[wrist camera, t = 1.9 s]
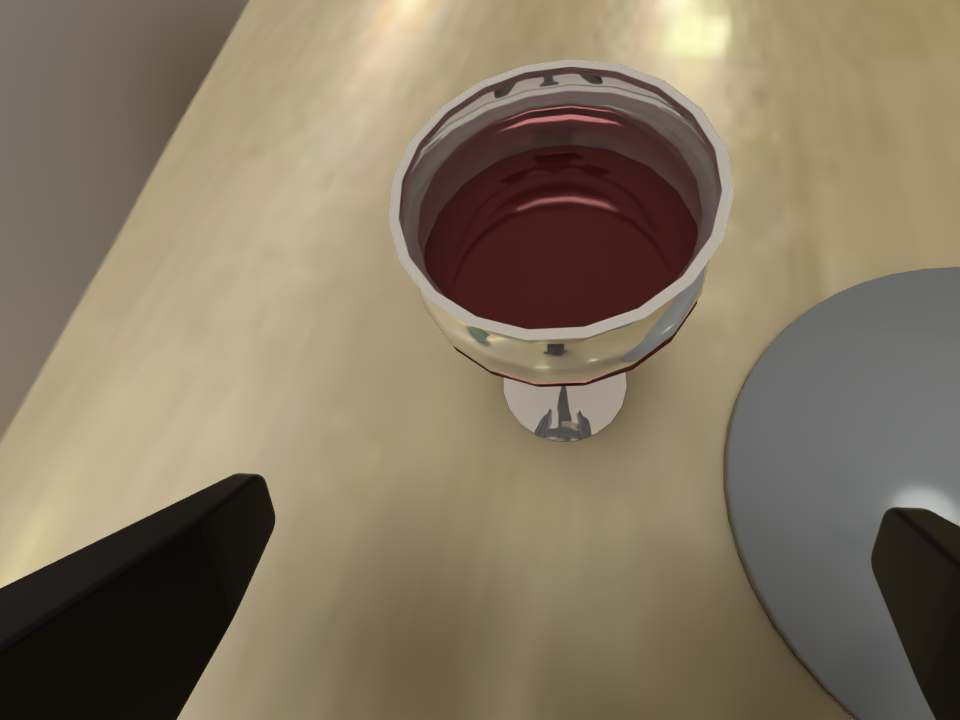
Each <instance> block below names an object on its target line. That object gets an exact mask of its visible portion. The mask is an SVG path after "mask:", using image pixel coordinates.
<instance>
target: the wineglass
mask: <svg viewBox="0 0 960 720" xmlns="http://www.w3.org/2000/svg"><path fill="white" fill-rule="evenodd" d="M734 192H735V191H734V185H733V180H732V175H731V169H730V164H729V158H728V153H727V147H726V145H725V144H724V142H723V140H722V139H721V137H720V136H719V134H718V133H717V131H716V130H715V128H714V127H713V125H712V124H711V122H710V121H709V119H708V117H707V116H706V114H705V113H704V111H703V110H702V108H700V107H699V106H698V105H696V104H695V103H694V102H692V101H691V100H690V99H688V98H687V97H686V96H684V95H683V94H682V93H681V92H679V91H678V90H677V89H675V88H674V87H673V86H671V85H670V84H669V83H667V82H666V81H664V80H662V79H659V78H656V77H654V76H651V75H648V74H645V73H643V72H640V71H637V70H635V69H632V68H629V67H626V66H624V65H621V64H613V63H603V62H593V61H583V60H573V59H571V60H563V61H556V62H548V63H541V64H533V65H525V66H522V67H519V68H516V69H514V70H511V71H508V72H506V73H503V74H500V75H497V76H495V77H492V78H489V79H487V80H484V81H481V82H479V83H477V84H476V85H474V86H473V87H471V88H470V89H468V90H467V91H465V92H464V93H462V94H461V95H459V96H458V97H456V98H455V99H453V100H452V101H450V102H449V103H447V104H446V105H444V106H443V107H441V108H440V109H439V110H438V111H437V112H436V114H435V115H434V116H433V117H432V118H431V119H430V120H429V121H428V122H427V124H426V125H425V126H424V127H423V128H422V129H421V130H420V131H419V132H418V134H417V135H416V136H415V137H414V138H413V139H412V140H411V142H410V144H409V146H408V148H407V151H406V153H405V155H404V157H403V159H402V161H401V163H400V165H399V167H398V170H397V172H396V174H395V176H394V178H393V184H392V193H391V203H390V212H389V224H390V228H391V231H392V235H393V239H394V242H395V246H396V249H397V253H398V257H399V260H400V263H401V264H402V265H403V267H404V268H405V269H406V271H407V272H408V273H409V275H410V276H411V277H412V279H413V280H414V281H415V283H416V284H417V285H418V289H419V292H420V296H421V299H422V303H423V306H424V309H425V311H426V312H427V313H428V315H429V316H430V317H431V319H432V320H433V321H434V323H435V324H436V326H437V327H438V328H439V330H440V331H441V332H442V334H443V335H444V336H445V338H446V339H447V340H448V342H449V343H450V344H452V345H453V347H454V348H455V349H456V350H457V351H458V352H460V353H461V354H463V355H464V356H466V357H467V358H469V359H470V360H472V361H473V362H475V363H476V364H478V365H479V366H481V367H482V368H484V369H485V370H487V371H488V372H490V373H491V374H494V375H497V376H500V377H504V394H505V397H506V400H507V403H508V406H509V409H510V410H511V412H512V413H513V414H514V416H515V417H516V418H517V420H518V421H519V422H520V424H521V425H523V426H524V427H526V428H527V429H529V430H530V431H532V432H533V433H534V434H536V435H538V436H542V437H545V438H548V439H551V440H555V441H576V440H579V439H582V438H585V437H588V436H591V435H594V434H596V433H597V432H599V431H600V430H601V429H603V428H604V427H605V426H607V425H608V424H609V423H611V422H612V420H613V419H614V417H615V416H616V414H617V413H618V411H619V410H620V408H621V407H622V404H623V400H624V397H625V393H626V389H627V386H626V373H625V372H627V371H630V370H632V369H634V368H635V367H637V366H638V365H639V364H641V363H642V362H643V361H645V360H646V359H648V358H649V357H650V356H652V355H653V354H654V353H656V352H657V351H658V350H660V349H661V348H663V347H664V346H665V345H667V344H668V343H669V342H671V341H672V339H673V338H674V336H675V335H676V333H677V332H678V331H679V329H680V328H681V326H682V325H683V323H684V322H685V320H686V319H687V317H688V316H689V315H690V313H691V312H692V310H693V309H694V307H695V306H696V304H697V300H698V298H699V297H700V296H701V294H702V290H703V286H704V282H705V278H706V273H707V269H708V265H709V261H710V258H711V256H712V255H713V253H714V252H715V250H716V249H717V248H718V246H719V245H720V243H721V242H722V240H723V239H724V235H725V230H726V226H727V222H728V217H729V213H730V209H731V204H732V200H733V196H734Z"/></svg>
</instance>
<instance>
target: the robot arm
mask: <svg viewBox="0 0 960 720" xmlns="http://www.w3.org/2000/svg"><path fill="white" fill-rule="evenodd" d="M274 525H275V512H274V508H273V505H272V501H271V498H270V495H269V491H268V488H267V484H266V481H265V479H264V478H263V477H262V476H261V475H258V474H246V473H238V474H234V475H232V476H230V477H228V478H225V479H223V480H221V481H219V482H217V483H215V484H213V485H211V486H209V487H207V488H205V489H203V490H201V491H199V492H197V493H195V494H193V495H191V496H189V497H187V498H185V499H183V500H180V501H178V502H176V503H174V504H172V505H170V506H168V507H166V508H164V509H162V510H160V511H158V512H156V513H154V514H152V515H150V516H148V517H146V518H144V519H142V520H140V521H138V522H135V523H133V524H131V525H129V526H127V527H125V528H123V529H121V530H119V531H117V532H115V533H113V534H111V535H109V536H107V537H105V538H103V539H101V540H99V541H97V542H95V543H93V544H90V545H88V546H86V547H84V548H82V549H80V550H78V551H76V552H74V553H72V554H70V555H68V556H66V557H64V558H62V559H60V560H58V561H56V562H54V563H52V564H50V565H48V566H45V567H43V568H41V569H39V570H37V571H35V572H33V573H31V574H29V575H27V576H25V577H23V578H21V579H19V580H17V581H15V582H13V583H11V584H9V585H7V586H5V587H3V588H0V720H177V718H178V716H179V714H180V713H181V711H182V709H183V707H184V705H185V704H186V702H187V700H188V698H189V697H190V695H191V693H192V691H193V689H194V688H195V686H196V684H197V682H198V681H199V679H200V677H201V675H202V674H203V672H204V670H205V668H206V666H207V665H208V663H209V661H210V659H211V658H212V656H213V654H214V652H215V650H216V649H217V647H218V645H219V643H220V642H221V640H222V638H223V636H224V634H225V633H226V631H227V629H228V627H229V625H230V623H231V621H232V620H233V618H234V616H235V613H236V611H237V609H238V607H239V605H240V603H241V601H242V599H243V596H244V594H245V592H246V590H247V588H248V585H249V583H250V581H251V579H252V576H253V574H254V572H255V570H256V567H257V565H258V563H259V561H260V558H261V556H262V554H263V552H264V549H265V547H266V545H267V543H268V541H269V538H270V536H271V534H272V532H273V529H274ZM871 566H872V571H873V574H874V577H875V579H876V581H877V584H878V586H879V589H880V591H881V594H882V596H883V599H884V601H885V604H886V606H887V609H888V611H889V614H890V616H891V619H892V621H893V624H894V626H895V629H896V631H897V634H898V636H899V639H900V641H901V644H902V646H903V649H904V651H905V654H906V656H907V658H908V661H909V663H910V666H911V668H912V671H913V673H914V675H915V678H916V680H917V682H918V685H919V687H920V689H921V691H922V694H923V696H924V698H925V700H926V702H927V704H928V706H929V708H930V710H931V712H932V714H933V716H934V717H935V719H936V720H960V526H958V525H956V524H954V523H952V522H950V521H949V520H947V519H945V518H943V517H941V516H939V515H938V514H936V513H934V512H932V511H930V510H927V509H923V508H906V507H892V508H889V509H888V510H887V511H886V512H885V513H884V515H883V518H882V521H881V524H880V527H879V530H878V534H877V537H876V540H875V543H874V546H873V550H872V554H871Z"/></svg>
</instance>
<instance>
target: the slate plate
mask: <svg viewBox="0 0 960 720" xmlns="http://www.w3.org/2000/svg"><path fill="white" fill-rule="evenodd" d="M724 489H725V497H726V504H727V511H728V518H729V522H730V525H731V529H732V533H733V536H734V540H735V544H736V547H737V551H738V554H739V556H740V559H741V561H742V563H743V566H744V568H745V571H746V573H747V576H748V578H749V580H750V583H751V585H752V587H753V589H754V591H755V593H756V595H757V596H758V598H759V600H760V602H761V604H762V605H763V607H764V609H765V611H766V613H767V615H768V616H769V618H770V620H771V622H772V623H773V624H774V626H775V627H776V629H777V630H778V632H779V633H780V634H781V636H782V637H783V639H784V640H785V641H786V643H787V644H788V646H789V647H790V649H791V650H792V651H793V653H794V654H795V656H796V657H797V658H798V659H799V660H800V661H801V662H802V664H803V665H804V666H805V667H806V668H807V669H808V671H809V672H810V673H811V674H812V675H813V676H814V677H815V679H816V680H817V681H818V682H819V683H820V684H821V685H822V687H823V688H824V689H825V690H826V691H827V692H828V693H830V694H831V695H832V696H833V697H834V698H835V699H836V700H837V701H838V702H839V703H840V704H841V705H842V706H843V707H845V708H846V709H847V710H848V711H849V712H850V713H851V714H852V715H853V716H854V717H855V718H856V719H857V720H936V719H935V717H934V716H933V714H932V712H931V710H930V708H929V706H928V704H927V702H926V700H925V698H924V696H923V694H922V691H921V689H920V687H919V685H918V682H917V680H916V678H915V675H914V673H913V671H912V668H911V666H910V663H909V661H908V658H907V656H906V654H905V651H904V649H903V646H902V644H901V641H900V639H899V636H898V634H897V631H896V629H895V626H894V624H893V621H892V619H891V616H890V614H889V611H888V609H887V606H886V604H885V601H884V599H883V596H882V594H881V591H880V589H879V586H878V584H877V581H876V579H875V577H874V574H873V571H872V566H871V554H872V550H873V546H874V543H875V540H876V537H877V534H878V530H879V527H880V524H881V521H882V518H883V515H884V513H885V512H886V511H887V510H888V509H889V508H892V507H906V508H923V509H927V510H930V511H932V512H934V513H936V514H938V515H939V516H941V517H943V518H945V519H947V520H949V521H950V522H952V523H954V524H956V525H958V526H960V267H952V268H935V269H921V270H915V271H909V272H903V273H897V274H891V275H888V276H884V277H881V278H877V279H874V280H870V281H867V282H863V283H861V284H858V285H856V286H853V287H851V288H849V289H846V290H844V291H842V292H839V293H837V294H835V295H833V296H831V297H830V298H828V299H826V300H824V301H823V302H821V303H819V304H818V305H816V306H814V307H813V308H811V309H809V310H808V311H807V312H806V313H804V314H803V315H802V316H801V317H799V318H798V319H797V320H796V321H794V322H793V323H792V324H791V325H789V326H788V327H787V328H786V329H785V330H784V331H783V333H782V334H781V335H780V336H779V337H778V338H777V339H776V340H775V341H774V342H773V343H772V344H771V345H770V346H769V348H768V349H767V350H766V351H765V352H764V353H763V354H762V356H761V357H760V359H759V360H758V362H757V363H756V364H755V366H754V367H753V369H752V370H751V372H750V373H749V375H748V376H747V378H746V380H745V382H744V385H743V387H742V389H741V391H740V393H739V395H738V397H737V399H736V402H735V405H734V409H733V412H732V415H731V419H730V422H729V426H728V431H727V438H726V445H725V452H724Z"/></svg>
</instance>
